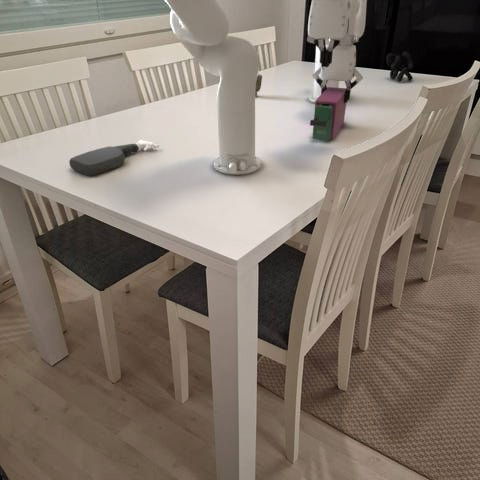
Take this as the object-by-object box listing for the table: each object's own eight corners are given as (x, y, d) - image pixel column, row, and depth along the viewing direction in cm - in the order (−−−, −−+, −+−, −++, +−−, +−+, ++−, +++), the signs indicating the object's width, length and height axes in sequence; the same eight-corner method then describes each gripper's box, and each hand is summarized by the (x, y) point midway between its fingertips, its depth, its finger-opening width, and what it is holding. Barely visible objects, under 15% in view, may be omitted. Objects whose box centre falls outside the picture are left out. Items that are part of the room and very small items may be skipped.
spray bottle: (67, 168, 120) (139, 144, 136) (91, 178, 114) (163, 151, 130) (65, 157, 118) (137, 134, 134) (89, 167, 112) (162, 142, 128)
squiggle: (400, 92, 202) (376, 71, 205) (417, 76, 202) (392, 56, 205) (405, 81, 191) (380, 59, 194) (423, 64, 191) (397, 42, 194)
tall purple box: (332, 140, 135) (336, 102, 129) (312, 137, 137) (315, 100, 131) (343, 123, 149) (347, 88, 143) (325, 121, 151) (328, 86, 145)
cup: (240, 97, 179) (240, 76, 175) (248, 93, 185) (248, 72, 181) (257, 99, 176) (257, 78, 172) (265, 94, 182) (265, 74, 178)
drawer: (324, 146, 129) (328, 112, 124) (307, 144, 130) (310, 111, 125) (340, 123, 146) (343, 93, 141) (324, 122, 148) (327, 92, 143)
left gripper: (364, -13, 111) (355, 65, 121) (305, -13, 116) (302, 62, 126) (359, -11, 105) (350, 70, 115) (298, -11, 110) (294, 67, 120)
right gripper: (371, 40, 134) (364, 100, 144) (315, 37, 140) (311, 96, 149) (368, 43, 128) (360, 106, 138) (309, 41, 134) (305, 101, 143)
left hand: (325, 66), depth 121 cm, fingers closed
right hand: (334, 100), depth 143 cm, fingers closed on tall purple box, 6 cm apart
